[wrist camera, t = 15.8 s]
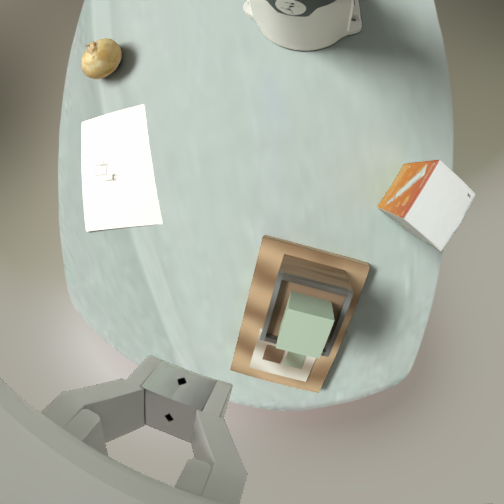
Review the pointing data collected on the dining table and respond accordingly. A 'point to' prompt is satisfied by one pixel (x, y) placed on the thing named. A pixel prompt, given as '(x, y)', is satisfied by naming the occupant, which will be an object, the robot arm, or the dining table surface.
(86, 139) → the paper sheet
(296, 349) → the sage block
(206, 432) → the robot arm
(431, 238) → the small box
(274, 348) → the oak base board
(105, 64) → the onion
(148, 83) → the dining table surface
